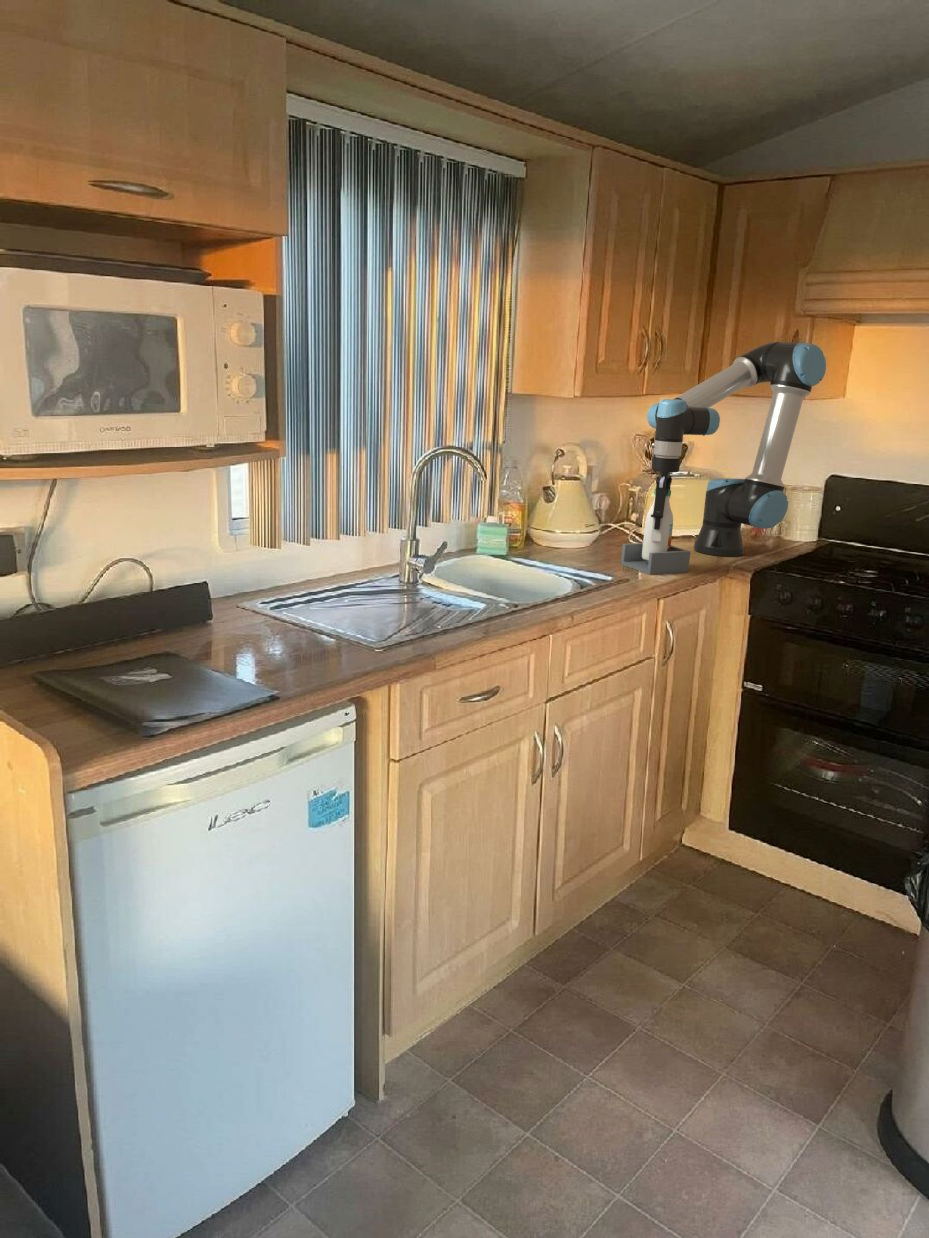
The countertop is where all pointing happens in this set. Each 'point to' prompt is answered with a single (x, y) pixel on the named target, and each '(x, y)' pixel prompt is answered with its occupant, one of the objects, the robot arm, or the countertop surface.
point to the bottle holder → (655, 560)
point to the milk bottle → (666, 530)
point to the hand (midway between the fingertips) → (657, 538)
